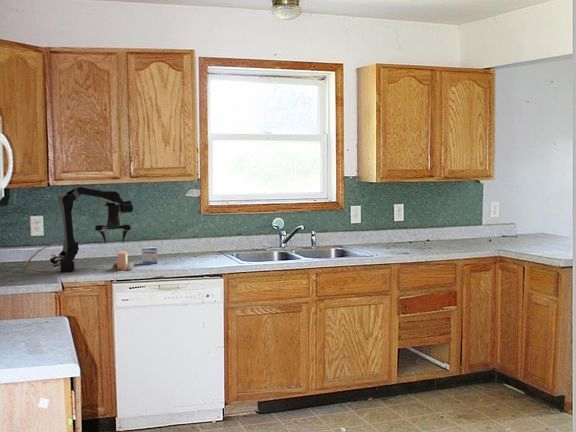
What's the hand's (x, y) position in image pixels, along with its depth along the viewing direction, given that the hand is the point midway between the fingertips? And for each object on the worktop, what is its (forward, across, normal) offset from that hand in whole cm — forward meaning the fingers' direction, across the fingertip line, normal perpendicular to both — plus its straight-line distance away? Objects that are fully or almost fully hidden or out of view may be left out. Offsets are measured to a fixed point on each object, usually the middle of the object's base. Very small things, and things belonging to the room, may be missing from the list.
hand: (114, 243), depth 369 cm
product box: (+11, +6, -12) cm, 17 cm away
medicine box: (+12, +18, +3) cm, 22 cm away
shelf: (+12, +6, -12) cm, 18 cm away
